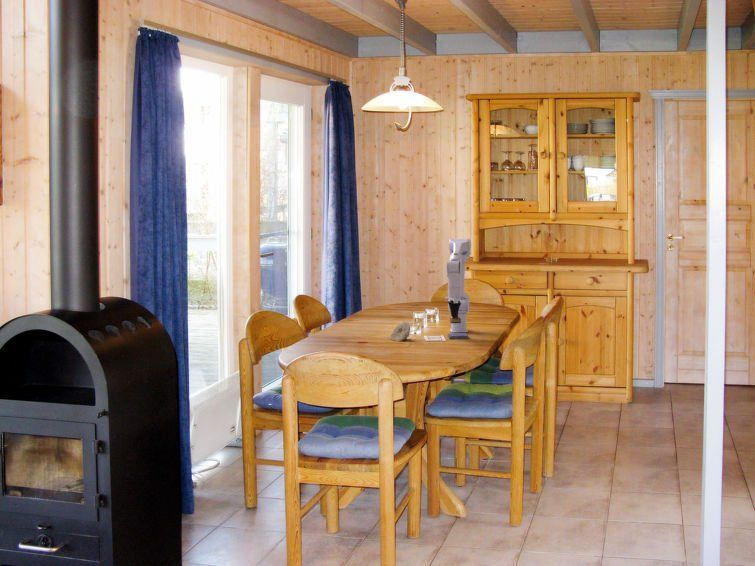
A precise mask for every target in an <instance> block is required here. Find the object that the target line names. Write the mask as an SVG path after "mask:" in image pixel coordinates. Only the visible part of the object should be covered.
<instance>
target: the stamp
mask: <svg viewBox="0 0 755 566" xmlns="http://www.w3.org/2000/svg"><path fill="white" fill-rule="evenodd" d="M449 323H450V324H451V323H461V318H459V317H458V316H457V318H451V317H449Z"/></svg>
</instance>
